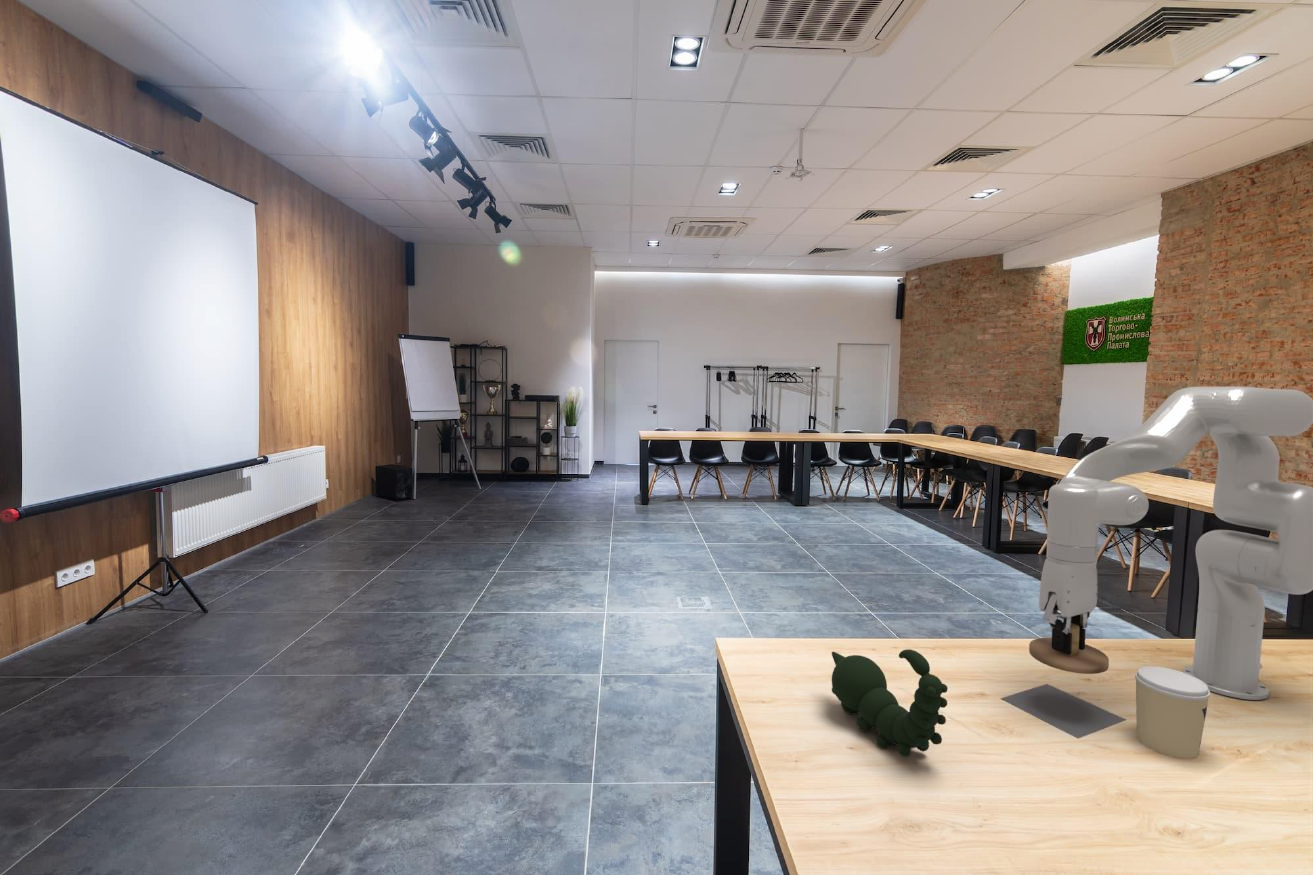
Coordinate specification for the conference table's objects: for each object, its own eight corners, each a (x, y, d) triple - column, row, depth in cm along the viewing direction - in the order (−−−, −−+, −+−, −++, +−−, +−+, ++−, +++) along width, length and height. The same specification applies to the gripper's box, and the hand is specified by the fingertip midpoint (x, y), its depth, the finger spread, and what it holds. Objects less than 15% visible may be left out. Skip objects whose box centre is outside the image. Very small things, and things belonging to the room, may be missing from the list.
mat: (1046, 686, 117) (1047, 683, 117) (1126, 722, 105) (1126, 719, 105) (1000, 701, 112) (1000, 698, 112) (1077, 741, 99) (1077, 738, 99)
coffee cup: (1220, 768, 92) (1226, 695, 91) (1152, 761, 94) (1157, 689, 93) (1180, 734, 101) (1185, 668, 100) (1118, 728, 103) (1123, 662, 102)
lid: (1054, 638, 116) (1055, 608, 115) (1123, 664, 105) (1124, 631, 104) (1014, 651, 111) (1015, 620, 110) (1082, 679, 100) (1084, 645, 99)
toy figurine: (951, 773, 93) (848, 686, 116) (966, 665, 90) (856, 597, 113) (906, 788, 90) (808, 695, 113) (919, 675, 87) (816, 603, 110)
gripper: (1077, 541, 113) (1074, 632, 114) (1021, 553, 106) (1018, 650, 108) (1121, 550, 106) (1117, 648, 107) (1064, 564, 99) (1060, 667, 101)
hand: (1068, 648), depth 107 cm, fingers closed on lid, 3 cm apart
